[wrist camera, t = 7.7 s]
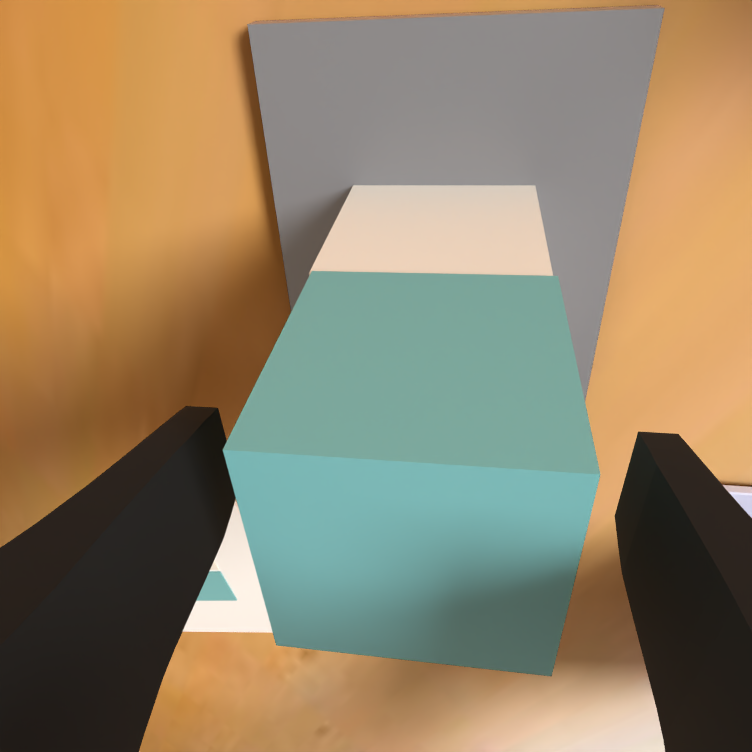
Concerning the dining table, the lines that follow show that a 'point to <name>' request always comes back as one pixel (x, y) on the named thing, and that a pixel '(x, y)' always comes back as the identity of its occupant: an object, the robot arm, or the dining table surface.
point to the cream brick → (438, 231)
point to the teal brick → (419, 469)
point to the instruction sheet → (231, 588)
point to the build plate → (462, 124)
